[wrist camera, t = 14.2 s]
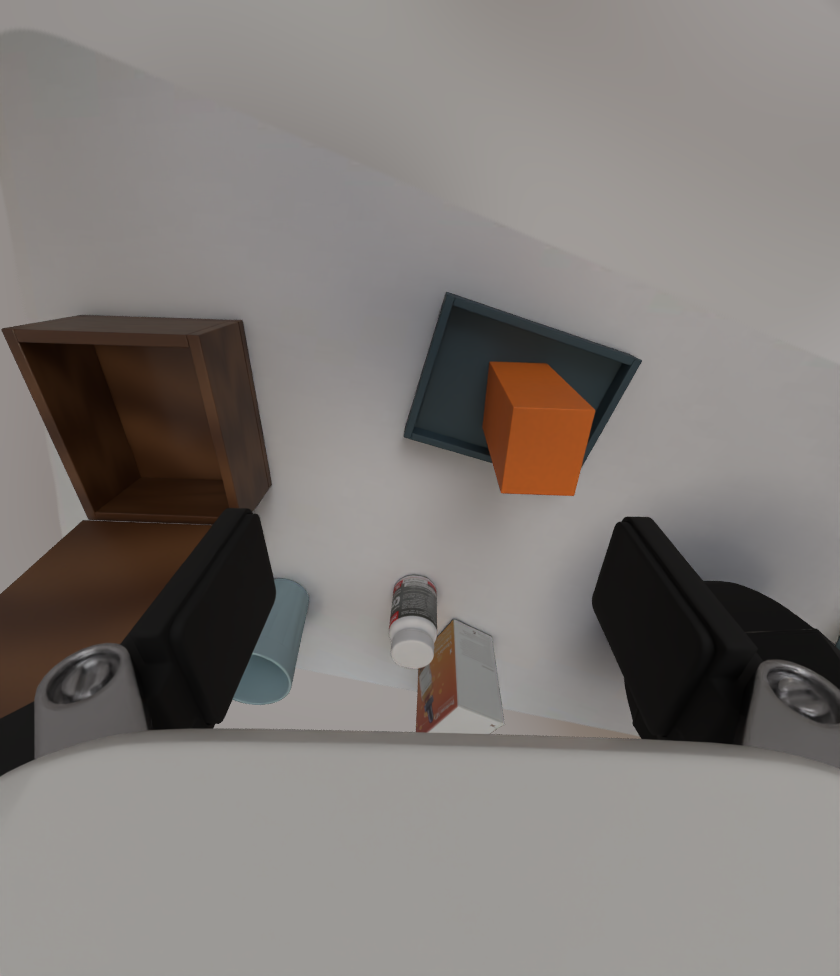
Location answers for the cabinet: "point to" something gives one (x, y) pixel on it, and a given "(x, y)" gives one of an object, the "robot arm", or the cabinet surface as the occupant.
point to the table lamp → (767, 637)
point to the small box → (460, 684)
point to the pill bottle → (413, 622)
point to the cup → (276, 648)
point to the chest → (148, 413)
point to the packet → (535, 429)
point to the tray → (503, 338)
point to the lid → (84, 596)
